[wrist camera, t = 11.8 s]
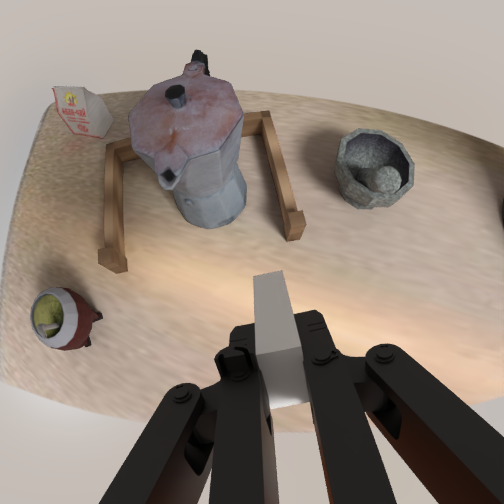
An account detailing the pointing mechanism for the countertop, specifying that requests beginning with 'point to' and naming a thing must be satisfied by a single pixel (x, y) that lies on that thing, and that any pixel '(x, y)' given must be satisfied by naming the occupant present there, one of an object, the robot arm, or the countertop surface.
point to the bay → (123, 152)
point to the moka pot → (193, 143)
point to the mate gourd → (62, 319)
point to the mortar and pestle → (373, 169)
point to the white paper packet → (83, 111)
